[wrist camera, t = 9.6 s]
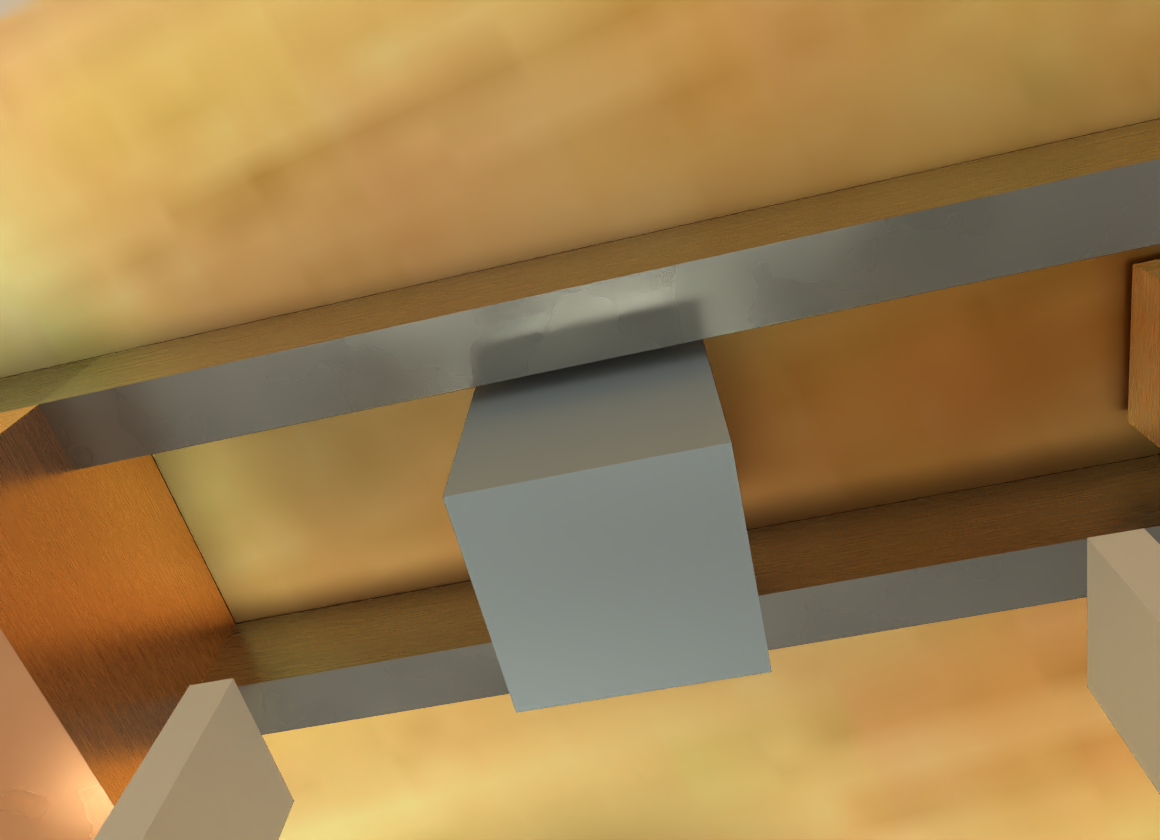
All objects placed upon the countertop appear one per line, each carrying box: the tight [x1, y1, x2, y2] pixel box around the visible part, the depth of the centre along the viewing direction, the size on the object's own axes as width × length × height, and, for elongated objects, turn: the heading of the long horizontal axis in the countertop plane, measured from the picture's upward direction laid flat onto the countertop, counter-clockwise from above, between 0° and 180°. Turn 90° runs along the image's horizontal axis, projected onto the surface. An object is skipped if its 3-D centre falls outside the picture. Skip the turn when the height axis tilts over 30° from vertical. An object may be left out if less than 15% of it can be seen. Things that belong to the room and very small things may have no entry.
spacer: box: [443, 339, 772, 713], centre depth 18 cm, size 5×5×6 cm
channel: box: [0, 119, 1160, 840], centre depth 17 cm, size 38×9×6 cm, turn 103°
